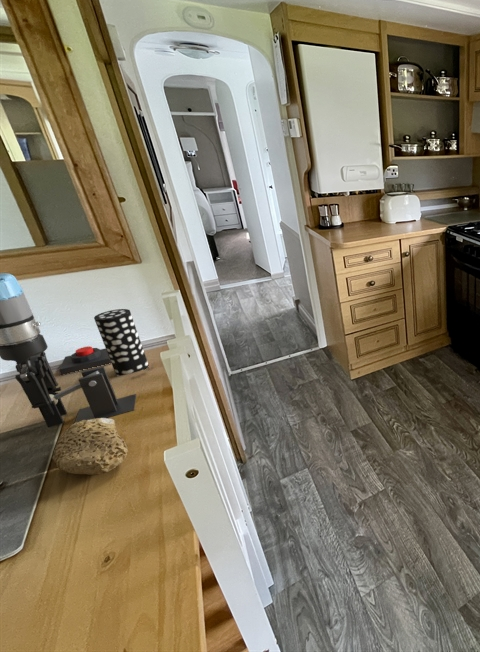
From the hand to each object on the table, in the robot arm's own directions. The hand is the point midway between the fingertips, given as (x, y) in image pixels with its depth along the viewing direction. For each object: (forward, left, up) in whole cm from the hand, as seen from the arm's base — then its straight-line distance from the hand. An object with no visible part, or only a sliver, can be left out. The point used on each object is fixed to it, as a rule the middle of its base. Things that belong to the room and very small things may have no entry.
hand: (57, 419), depth 97 cm
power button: (+1, +38, +2) cm, 38 cm away
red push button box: (+1, +38, -2) cm, 38 cm away
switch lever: (+5, 0, +6) cm, 7 cm away
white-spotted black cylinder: (+13, +24, -2) cm, 27 cm away
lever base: (+9, 0, -2) cm, 9 cm away
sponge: (+9, -20, -2) cm, 22 cm away
